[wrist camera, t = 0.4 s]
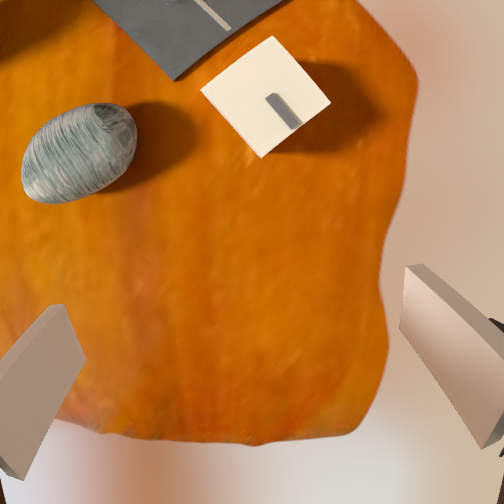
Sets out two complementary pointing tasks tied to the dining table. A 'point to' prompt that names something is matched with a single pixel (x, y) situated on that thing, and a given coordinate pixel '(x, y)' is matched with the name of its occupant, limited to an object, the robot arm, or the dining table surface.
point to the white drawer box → (265, 96)
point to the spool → (79, 153)
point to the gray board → (182, 26)
